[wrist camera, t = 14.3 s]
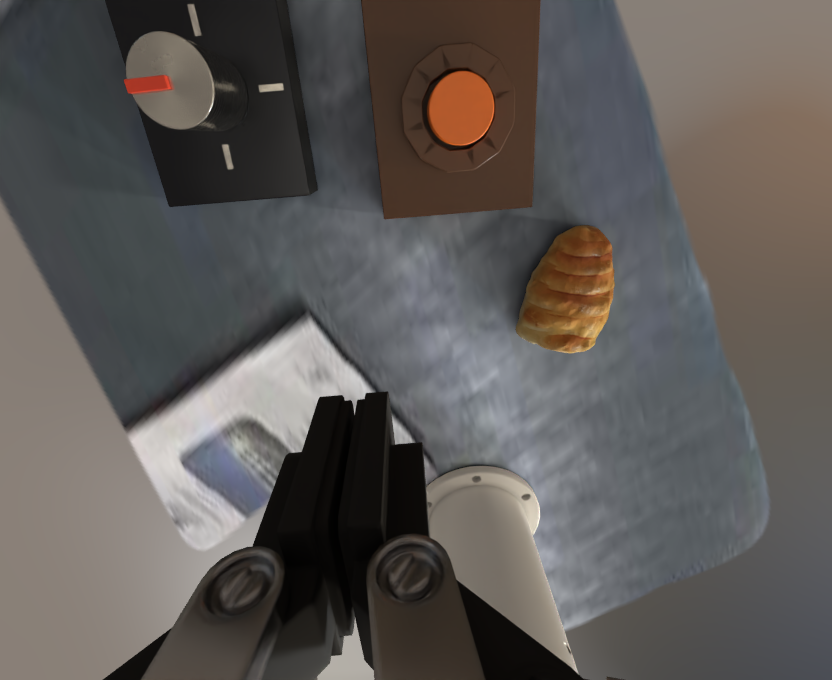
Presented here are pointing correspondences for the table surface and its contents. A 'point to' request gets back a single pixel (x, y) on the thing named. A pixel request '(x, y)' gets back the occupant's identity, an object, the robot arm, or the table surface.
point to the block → (416, 79)
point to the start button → (460, 108)
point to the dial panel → (266, 111)
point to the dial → (184, 84)
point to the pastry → (569, 292)
